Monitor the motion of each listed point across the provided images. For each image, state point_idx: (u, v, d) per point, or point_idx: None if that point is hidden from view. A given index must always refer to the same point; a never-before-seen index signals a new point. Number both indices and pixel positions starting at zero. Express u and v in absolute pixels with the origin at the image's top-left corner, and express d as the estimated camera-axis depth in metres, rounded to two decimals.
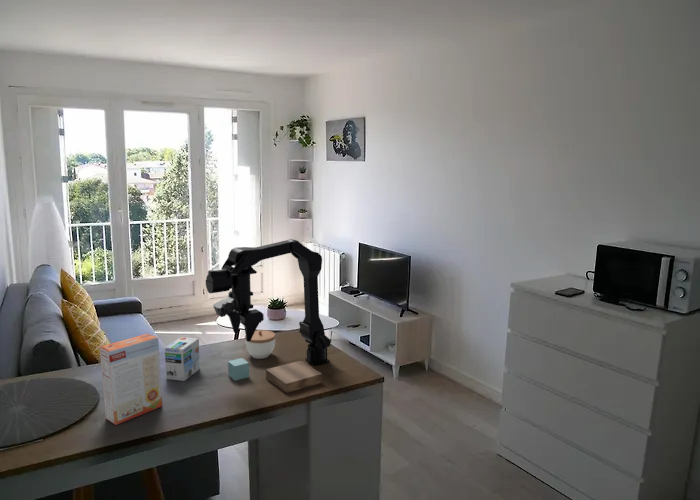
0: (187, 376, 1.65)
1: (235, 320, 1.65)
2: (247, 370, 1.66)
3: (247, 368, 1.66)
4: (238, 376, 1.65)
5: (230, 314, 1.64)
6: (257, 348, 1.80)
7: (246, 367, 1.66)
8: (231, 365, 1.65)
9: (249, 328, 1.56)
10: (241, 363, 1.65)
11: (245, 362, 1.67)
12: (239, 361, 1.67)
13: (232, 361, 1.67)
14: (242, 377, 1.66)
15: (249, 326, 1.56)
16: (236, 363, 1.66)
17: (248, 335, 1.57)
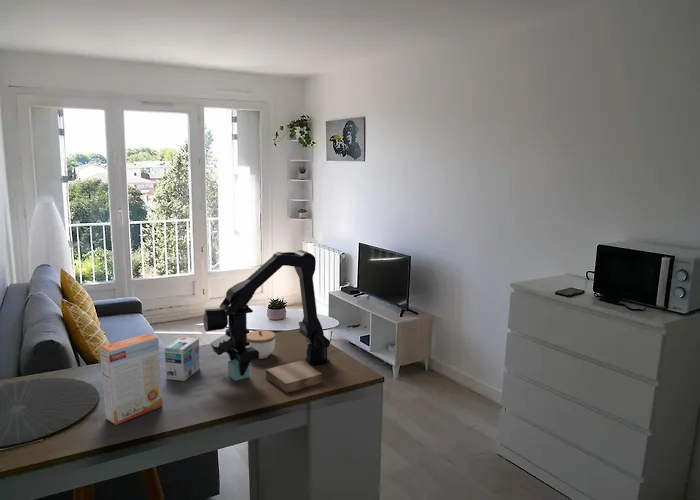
0: (187, 376, 1.65)
1: None
2: (247, 370, 1.66)
3: (247, 368, 1.66)
4: (238, 376, 1.65)
5: (229, 352, 1.68)
6: (257, 348, 1.80)
7: None
8: (231, 365, 1.65)
9: (243, 363, 1.64)
10: None
11: None
12: None
13: (232, 361, 1.67)
14: (242, 377, 1.66)
15: (243, 361, 1.63)
16: (236, 362, 1.66)
17: (242, 370, 1.64)
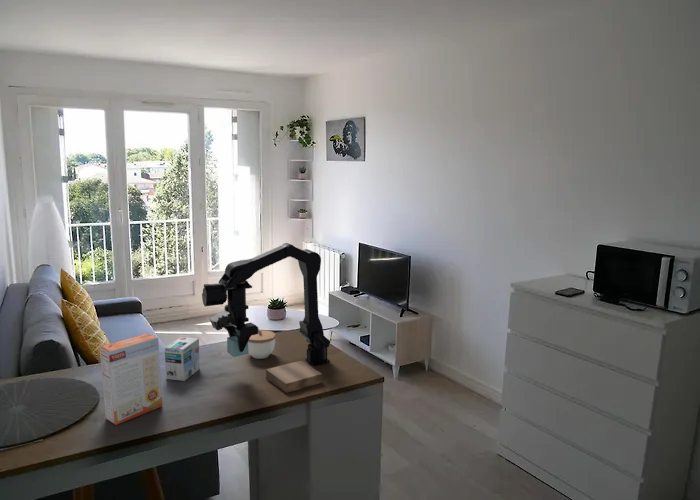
0: (187, 376, 1.65)
1: (233, 334, 1.68)
2: (246, 346, 1.65)
3: None
4: (237, 352, 1.63)
5: (229, 328, 1.67)
6: (257, 348, 1.80)
7: None
8: (230, 341, 1.64)
9: (242, 339, 1.62)
10: None
11: None
12: None
13: (231, 337, 1.66)
14: (241, 353, 1.64)
15: (242, 337, 1.62)
16: (235, 339, 1.64)
17: (241, 346, 1.63)
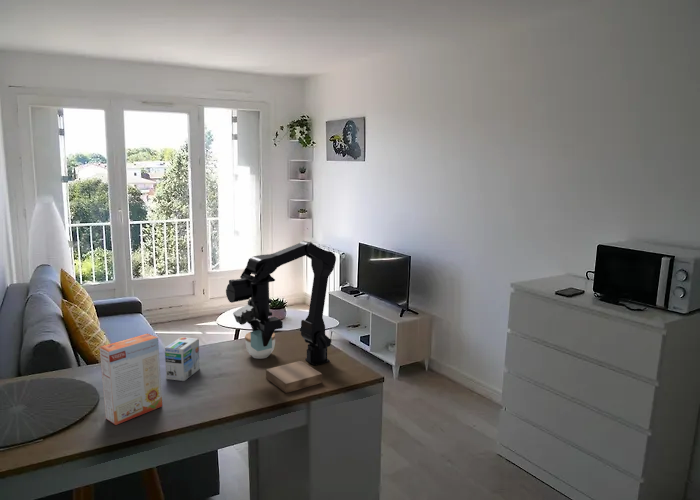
0: (187, 376, 1.65)
1: (257, 328, 1.66)
2: (270, 340, 1.64)
3: (270, 338, 1.64)
4: (261, 347, 1.62)
5: (252, 323, 1.65)
6: None
7: None
8: (254, 335, 1.63)
9: (266, 333, 1.61)
10: None
11: None
12: None
13: (254, 332, 1.65)
14: (265, 347, 1.63)
15: (266, 332, 1.61)
16: (258, 333, 1.63)
17: (265, 340, 1.61)
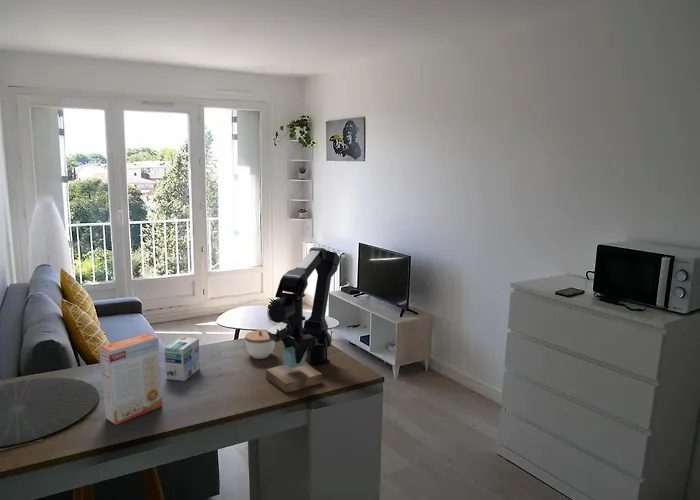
0: (187, 376, 1.65)
1: (289, 345, 1.66)
2: (302, 358, 1.63)
3: None
4: (294, 364, 1.61)
5: (284, 339, 1.65)
6: (257, 348, 1.80)
7: None
8: (287, 352, 1.62)
9: (299, 351, 1.60)
10: None
11: None
12: (294, 349, 1.64)
13: (287, 348, 1.64)
14: (298, 365, 1.62)
15: (299, 349, 1.60)
16: (291, 350, 1.62)
17: (298, 357, 1.61)
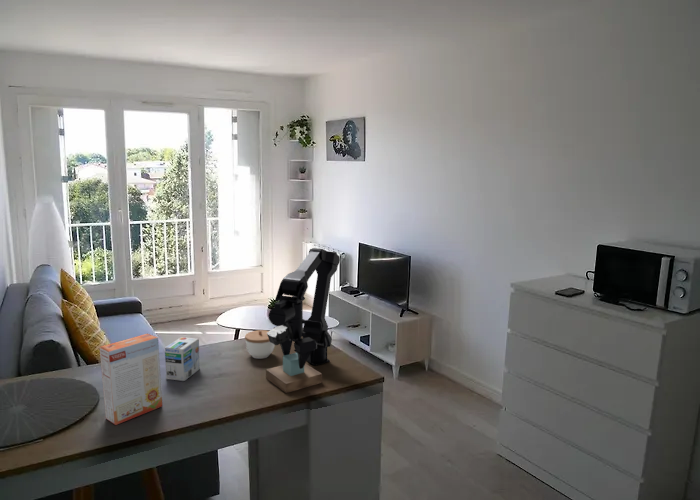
0: (187, 376, 1.65)
1: (286, 346, 1.67)
2: None
3: None
4: (294, 371, 1.62)
5: None
6: (257, 348, 1.80)
7: None
8: (286, 360, 1.62)
9: (302, 356, 1.59)
10: (297, 358, 1.62)
11: None
12: (294, 356, 1.64)
13: (287, 356, 1.64)
14: (298, 372, 1.63)
15: (302, 354, 1.59)
16: (291, 358, 1.63)
17: (301, 363, 1.59)
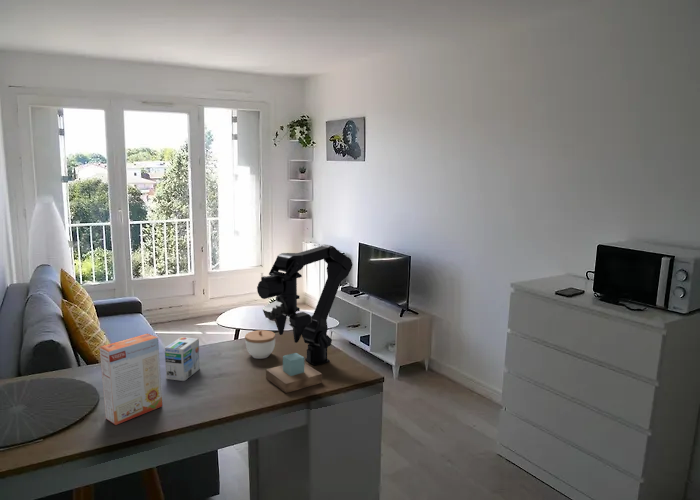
0: (187, 376, 1.65)
1: (280, 322, 1.72)
2: (302, 365, 1.63)
3: (302, 363, 1.63)
4: (294, 371, 1.62)
5: (276, 317, 1.71)
6: (257, 348, 1.80)
7: (302, 362, 1.63)
8: (286, 360, 1.62)
9: (297, 330, 1.64)
10: (297, 358, 1.62)
11: (300, 357, 1.64)
12: (294, 356, 1.64)
13: (287, 356, 1.64)
14: (298, 372, 1.63)
15: (297, 328, 1.64)
16: (291, 358, 1.63)
17: (296, 337, 1.64)
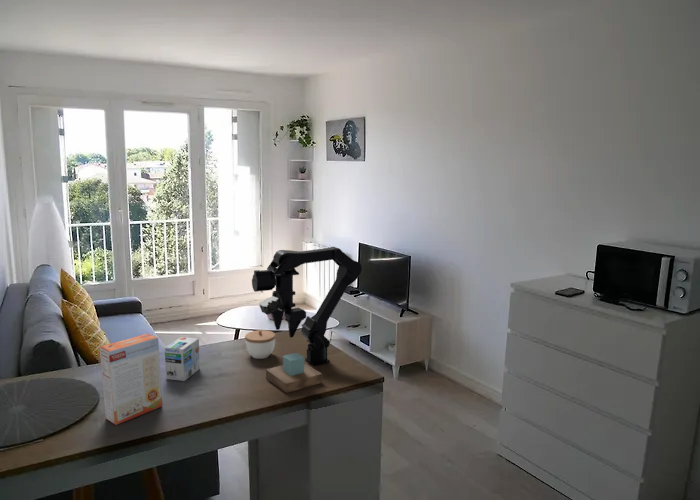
0: (187, 376, 1.65)
1: (277, 318, 1.76)
2: (302, 365, 1.63)
3: (302, 363, 1.63)
4: (294, 371, 1.62)
5: (273, 312, 1.75)
6: (257, 348, 1.80)
7: (302, 362, 1.63)
8: (286, 360, 1.62)
9: (292, 325, 1.68)
10: (297, 358, 1.62)
11: (300, 357, 1.64)
12: (294, 356, 1.64)
13: (287, 356, 1.64)
14: (298, 372, 1.63)
15: (292, 323, 1.68)
16: (291, 358, 1.63)
17: (291, 331, 1.69)
